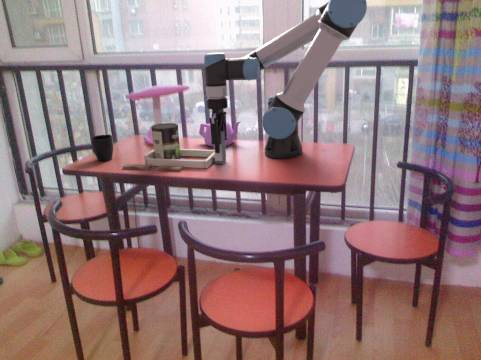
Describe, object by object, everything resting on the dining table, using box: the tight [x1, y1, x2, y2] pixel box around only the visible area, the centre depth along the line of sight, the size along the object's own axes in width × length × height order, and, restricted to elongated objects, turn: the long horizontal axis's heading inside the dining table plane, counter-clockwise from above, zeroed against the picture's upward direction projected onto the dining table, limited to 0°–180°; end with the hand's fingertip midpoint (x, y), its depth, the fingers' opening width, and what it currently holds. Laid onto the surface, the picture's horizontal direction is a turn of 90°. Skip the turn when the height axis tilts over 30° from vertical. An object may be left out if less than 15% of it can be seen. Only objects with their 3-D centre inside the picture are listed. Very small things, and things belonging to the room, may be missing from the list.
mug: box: [90, 133, 114, 163], centre depth 172 cm, size 8×12×10 cm
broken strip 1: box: [122, 163, 154, 171], centre depth 159 cm, size 11×3×1 cm, turn 75°
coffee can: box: [150, 122, 182, 160], centre depth 165 cm, size 10×10×14 cm
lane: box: [143, 130, 227, 169], centre depth 163 cm, size 30×15×12 cm, turn 75°
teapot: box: [198, 121, 241, 148], centre depth 186 cm, size 13×20×11 cm
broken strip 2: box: [157, 165, 185, 172], centre depth 156 cm, size 9×3×1 cm, turn 75°
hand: (220, 158), depth 161 cm, fingers closed on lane, 4 cm apart
